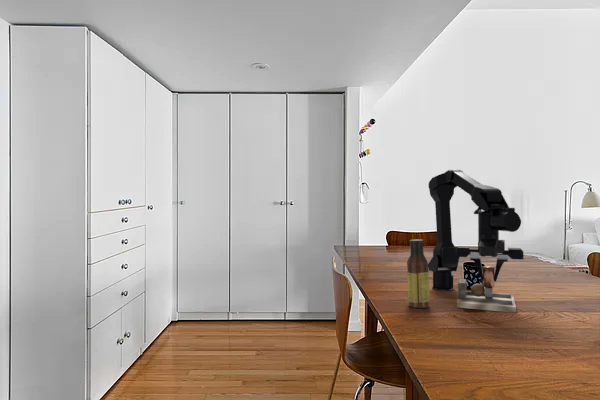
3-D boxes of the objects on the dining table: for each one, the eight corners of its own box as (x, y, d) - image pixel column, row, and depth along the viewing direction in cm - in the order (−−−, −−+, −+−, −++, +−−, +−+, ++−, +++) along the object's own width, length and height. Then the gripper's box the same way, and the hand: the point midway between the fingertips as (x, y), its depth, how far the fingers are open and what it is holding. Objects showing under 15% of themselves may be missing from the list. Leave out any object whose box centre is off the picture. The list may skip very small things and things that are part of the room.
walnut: (470, 297, 135) (470, 284, 135) (471, 294, 139) (471, 281, 139) (484, 298, 134) (484, 285, 134) (484, 295, 137) (484, 282, 137)
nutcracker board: (457, 307, 131) (457, 285, 131) (460, 296, 146) (460, 276, 146) (515, 312, 125) (515, 289, 125) (513, 300, 140) (513, 279, 140)
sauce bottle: (430, 304, 134) (430, 239, 134) (429, 309, 128) (429, 241, 128) (408, 303, 137) (408, 238, 136) (406, 308, 131) (405, 240, 131)
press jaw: (483, 299, 133) (482, 268, 133) (483, 295, 138) (483, 265, 138) (494, 300, 132) (494, 268, 132) (494, 296, 137) (494, 265, 137)
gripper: (453, 230, 131) (454, 283, 131) (524, 232, 124) (525, 288, 124) (456, 228, 141) (456, 277, 142) (522, 229, 134) (522, 281, 134)
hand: (488, 281), depth 135 cm, fingers closed on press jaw, 3 cm apart
